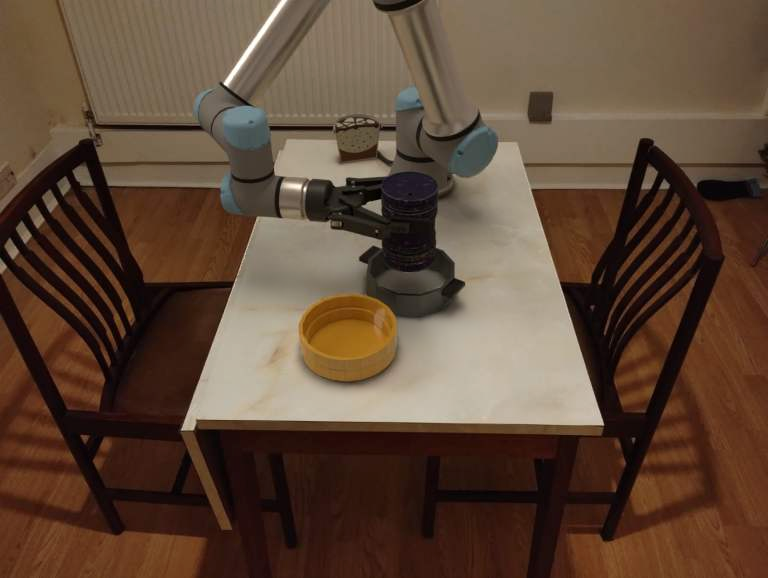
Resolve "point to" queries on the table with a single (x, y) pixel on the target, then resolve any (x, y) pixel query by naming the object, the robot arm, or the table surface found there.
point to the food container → (357, 137)
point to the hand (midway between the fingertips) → (433, 209)
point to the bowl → (348, 337)
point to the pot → (407, 301)
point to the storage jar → (414, 200)
